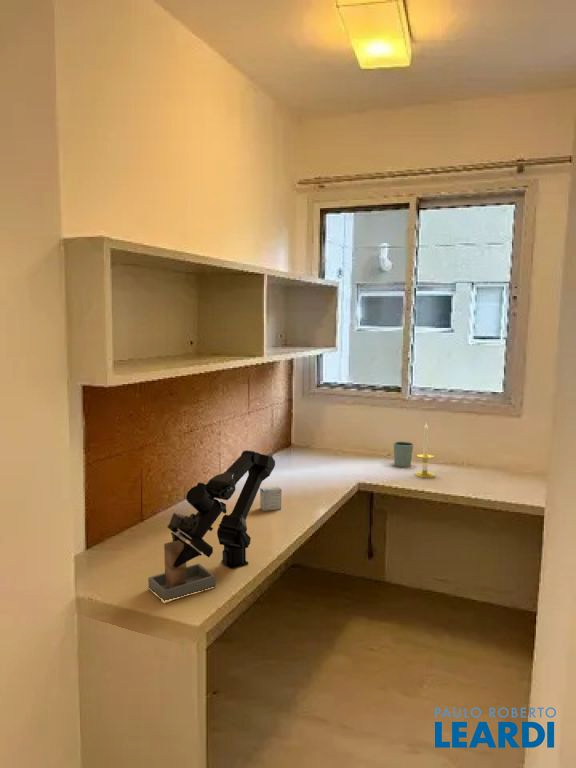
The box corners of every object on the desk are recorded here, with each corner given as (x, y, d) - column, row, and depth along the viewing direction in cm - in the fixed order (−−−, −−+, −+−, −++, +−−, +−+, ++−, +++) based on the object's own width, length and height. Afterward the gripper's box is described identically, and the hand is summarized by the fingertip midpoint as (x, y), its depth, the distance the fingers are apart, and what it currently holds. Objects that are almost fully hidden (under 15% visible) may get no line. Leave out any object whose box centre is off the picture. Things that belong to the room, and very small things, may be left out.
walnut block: (179, 579, 165) (178, 540, 163) (186, 585, 161) (185, 545, 160) (165, 583, 162) (164, 543, 161) (172, 590, 158) (171, 549, 157)
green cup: (389, 464, 304) (389, 442, 302) (404, 462, 309) (404, 440, 307) (401, 468, 295) (402, 446, 294) (416, 466, 300) (417, 444, 298)
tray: (198, 574, 172) (198, 563, 171) (215, 587, 163) (215, 576, 163) (148, 589, 162) (148, 577, 162) (163, 603, 154) (163, 591, 154)
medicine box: (277, 506, 235) (278, 485, 234) (281, 509, 231) (281, 488, 230) (259, 508, 232) (259, 487, 231) (263, 511, 228) (263, 490, 227)
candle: (412, 472, 289) (414, 420, 286) (432, 472, 289) (434, 420, 285) (417, 477, 279) (418, 423, 276) (437, 477, 279) (439, 423, 276)
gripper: (172, 494, 169) (138, 538, 163) (202, 512, 154) (165, 561, 148) (196, 514, 174) (164, 557, 169) (227, 533, 159) (193, 581, 154)
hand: (170, 563), depth 160 cm, fingers closed on walnut block, 4 cm apart
